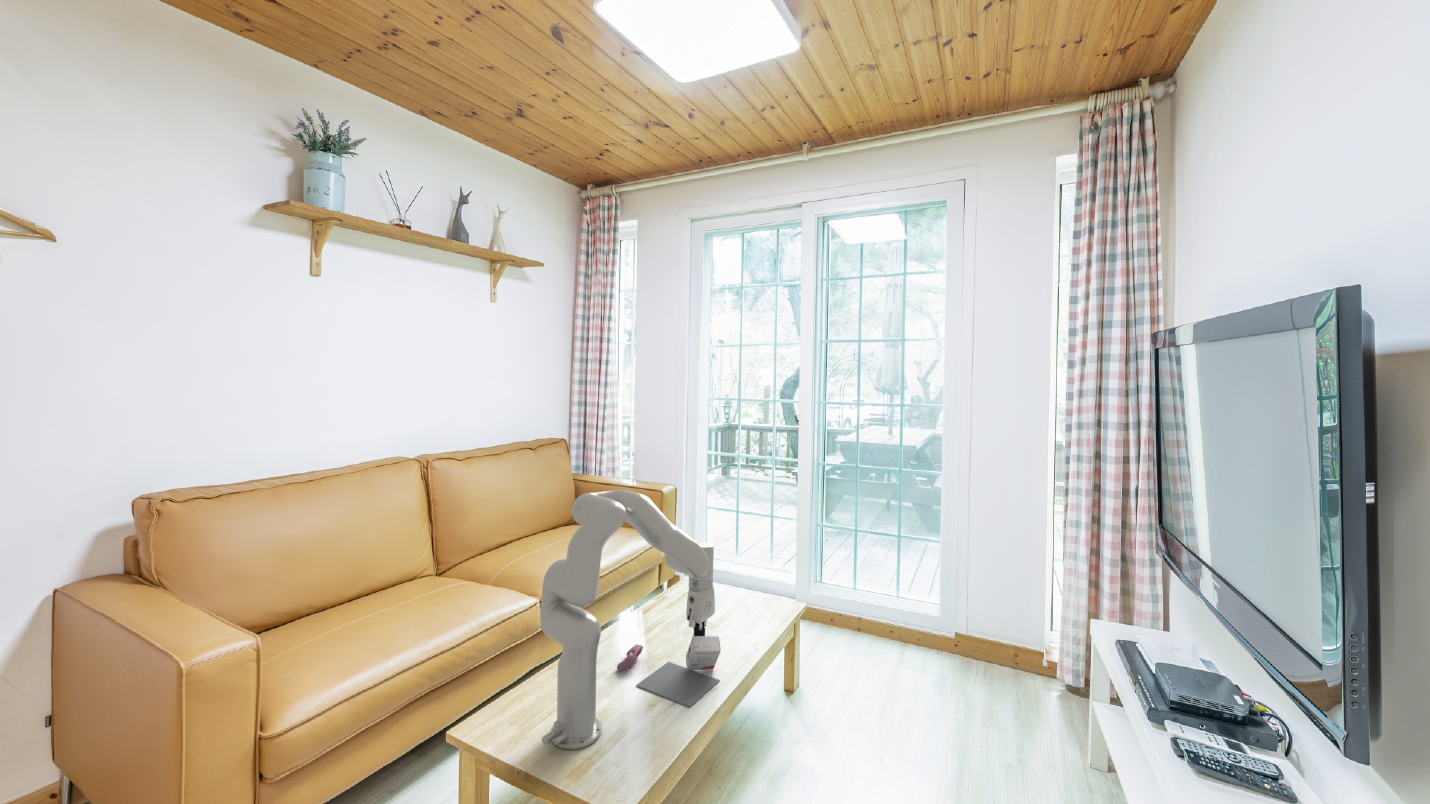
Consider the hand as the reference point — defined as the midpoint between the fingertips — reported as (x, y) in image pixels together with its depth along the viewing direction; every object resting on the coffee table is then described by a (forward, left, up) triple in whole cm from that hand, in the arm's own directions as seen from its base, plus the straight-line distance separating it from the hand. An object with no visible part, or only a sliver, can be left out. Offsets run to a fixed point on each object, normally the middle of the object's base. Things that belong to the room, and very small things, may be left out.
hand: (699, 639), depth 173 cm
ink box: (0, 0, -8) cm, 8 cm away
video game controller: (-10, +19, -9) cm, 23 cm away
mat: (-11, 0, -9) cm, 14 cm away
